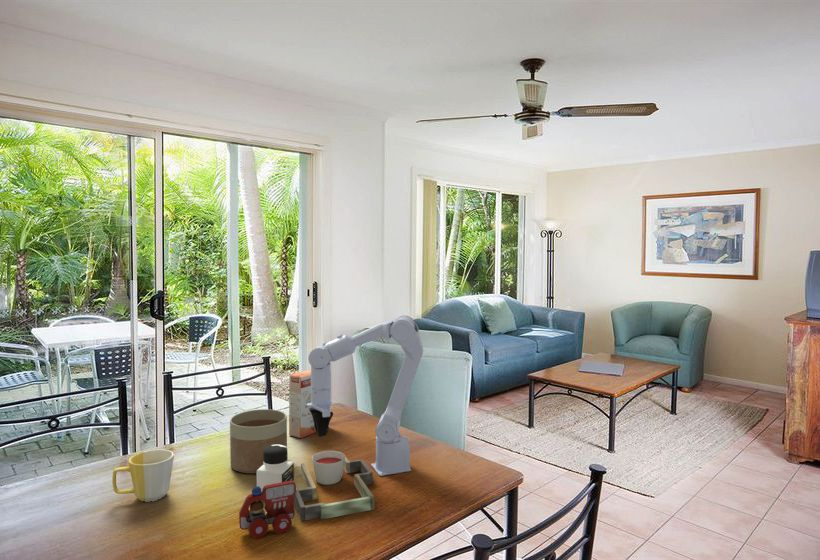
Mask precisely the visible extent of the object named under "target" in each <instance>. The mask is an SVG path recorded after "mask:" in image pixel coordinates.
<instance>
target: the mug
mask: <svg viewBox="0 0 820 560" xmlns="http://www.w3.org/2000/svg"><path fill="white" fill-rule="evenodd" d="M174 455H175V453H174V452H173V451H172V450H169V449H163V448H161V449H160V448H159V449H150V450H145V451H141V452H139V453H136V454H134V455H132V456H131V457H129V459H128V466H121V467H120V466H119V467H116V468H114V469H113V472H112V476H111V477H112V479H111V480H112V488H113V491H114V493H115V494H116V495H117V494H118V495H125V494H134V495H135V497H136V499H138V500H139V501H140V502H143V501H145V502H144V503H151V502H150V501H152V502H155V501H159V500H161V499H162V497H163V498H164V497H165V495H167V493H168V492H169V490H170V485H171V478H172V472H173V466H174V464H173V463H174V458H175V457H174ZM123 471H124V472H128V473H130V476H131V482H132V486H133V488H132V487H131V488H128V489H119V488H118V486H117V473H118V472H123ZM158 499H159V500H158Z"/></svg>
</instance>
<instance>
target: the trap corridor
mask: <svg viewBox="0 0 820 560" xmlns="http://www.w3.org/2000/svg"><path fill="white" fill-rule="evenodd" d="M343 472H345V473H346V474H350V473H354V474H353V480H354V481H353V486H354V487H355V489H356V490H357V492H358V494H359V495H360V496H361V497H358V498H351V499H347V500H341V501H336V502H329V503H324V502H323V501H322V502H319V503H312V504H307V505H305V504H304V503H305V502H309V501H316V500H317V486H316V484H315V482H314V479H313V478H312V476H311V474H310V472H309V470H308V468H307V466H306V464H305V462H303V463H300V475H301V478H302V480H303V482H304V485H305V486H306V487H302V488H297V489H296V493H295V494H294V507H295V508H296V511H297V513H298V516H299V519H300V521H303V520H305V521H310V520H314V519H319V518H320V520H325V519H331V518H335V517H341V516H348V515H353V514H357V513H363V512H367V511H373V510H375V496H374V495H373V493H372V492H371V490H370V489H369V488H368V486H369V485H371V484H373V480H374V478H373V474H374V473H373V471H372V469H371V468H370V466H368V464H367V463H366V462H365V460H364V459H353V460H349V459H348V458H347V457H346V456H345V462H344V467H343ZM357 472H360V473H357ZM355 473H356V474H355Z"/></svg>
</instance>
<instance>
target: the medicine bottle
mask: <svg viewBox="0 0 820 560" xmlns="http://www.w3.org/2000/svg"><path fill="white" fill-rule="evenodd" d="M288 460H289V459H288V446H287V447H286V446H283V445H278V444H277V445H271V446H268V447H266V448H265V449H264V450H263V464H264V465H262V466H261V467H260V468H259V469H258V470H257V473H256V486H259V487H260V488H261V492H262V490H263V487H264V486H266V485H270V484H276V483H281V482H286V481H294V482H295V462H294V461H291V460H290V461H288Z"/></svg>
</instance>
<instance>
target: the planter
mask: <svg viewBox="0 0 820 560" xmlns="http://www.w3.org/2000/svg"><path fill="white" fill-rule="evenodd" d="M229 442H230V443H229V445H230V448H229V449H230V450H229V451H230V467H231V469H233V470H234V471H236V472H239V473H243V474H257V470H258V469H259V468H260V467H261V466H262V465H264V464H263V450H264V449H265V448H266V447H268V446H271V445H277V444H278V445H283V446H286V447H287V448H288V419H287V413H286V412H284V411H281V410H278V409H271V408H270V409H268V408H267V409H266V408H264V409H253V410H252V409H251V410H247V411H243V412H240V413H239V412H238V413H236V414H235V415H233V416H232V417H231V418H230V420H229Z"/></svg>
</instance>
